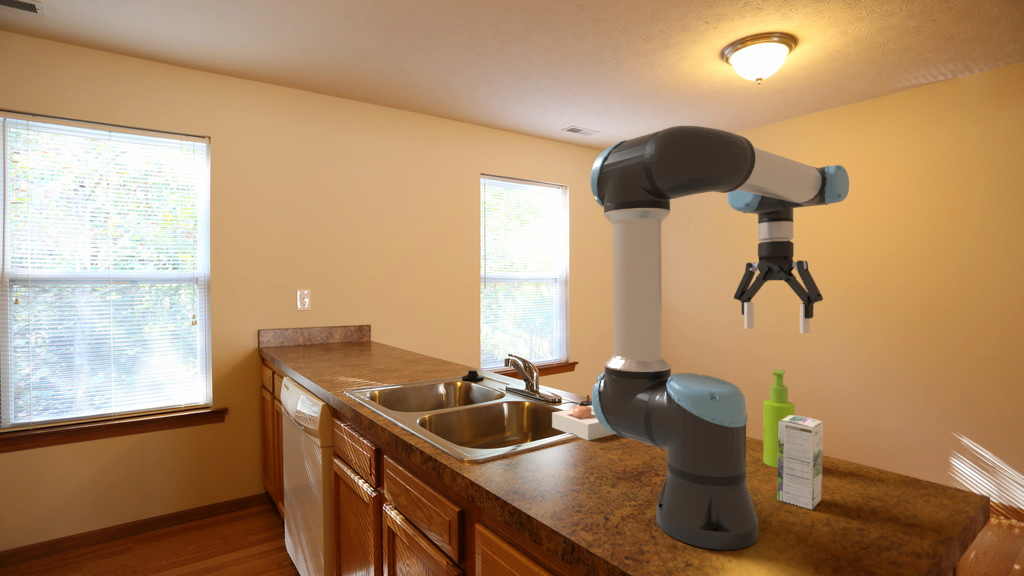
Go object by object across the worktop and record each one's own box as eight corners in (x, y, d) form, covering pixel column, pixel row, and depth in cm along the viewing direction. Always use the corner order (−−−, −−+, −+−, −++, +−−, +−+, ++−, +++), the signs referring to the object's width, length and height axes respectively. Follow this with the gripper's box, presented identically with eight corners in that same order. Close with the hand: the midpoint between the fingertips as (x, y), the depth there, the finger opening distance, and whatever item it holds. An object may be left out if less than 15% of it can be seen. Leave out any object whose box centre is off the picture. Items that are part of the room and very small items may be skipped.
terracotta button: (581, 423, 128) (581, 411, 128) (569, 419, 132) (569, 407, 132) (595, 420, 131) (595, 408, 131) (582, 416, 135) (582, 405, 135)
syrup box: (787, 491, 93) (787, 413, 93) (823, 501, 89) (823, 419, 89) (776, 500, 89) (776, 419, 89) (814, 511, 85) (814, 426, 85)
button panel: (588, 440, 124) (588, 424, 124) (552, 427, 135) (552, 412, 135) (657, 423, 138) (657, 409, 138) (619, 413, 150) (619, 399, 150)
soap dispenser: (795, 460, 109) (795, 369, 109) (793, 470, 103) (793, 374, 103) (765, 455, 112) (765, 367, 112) (761, 465, 106) (761, 371, 106)
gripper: (840, 237, 110) (840, 334, 110) (737, 245, 131) (737, 326, 131) (822, 236, 106) (822, 335, 106) (719, 244, 127) (719, 327, 128)
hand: (775, 330), depth 119 cm, fingers open, 13 cm apart
